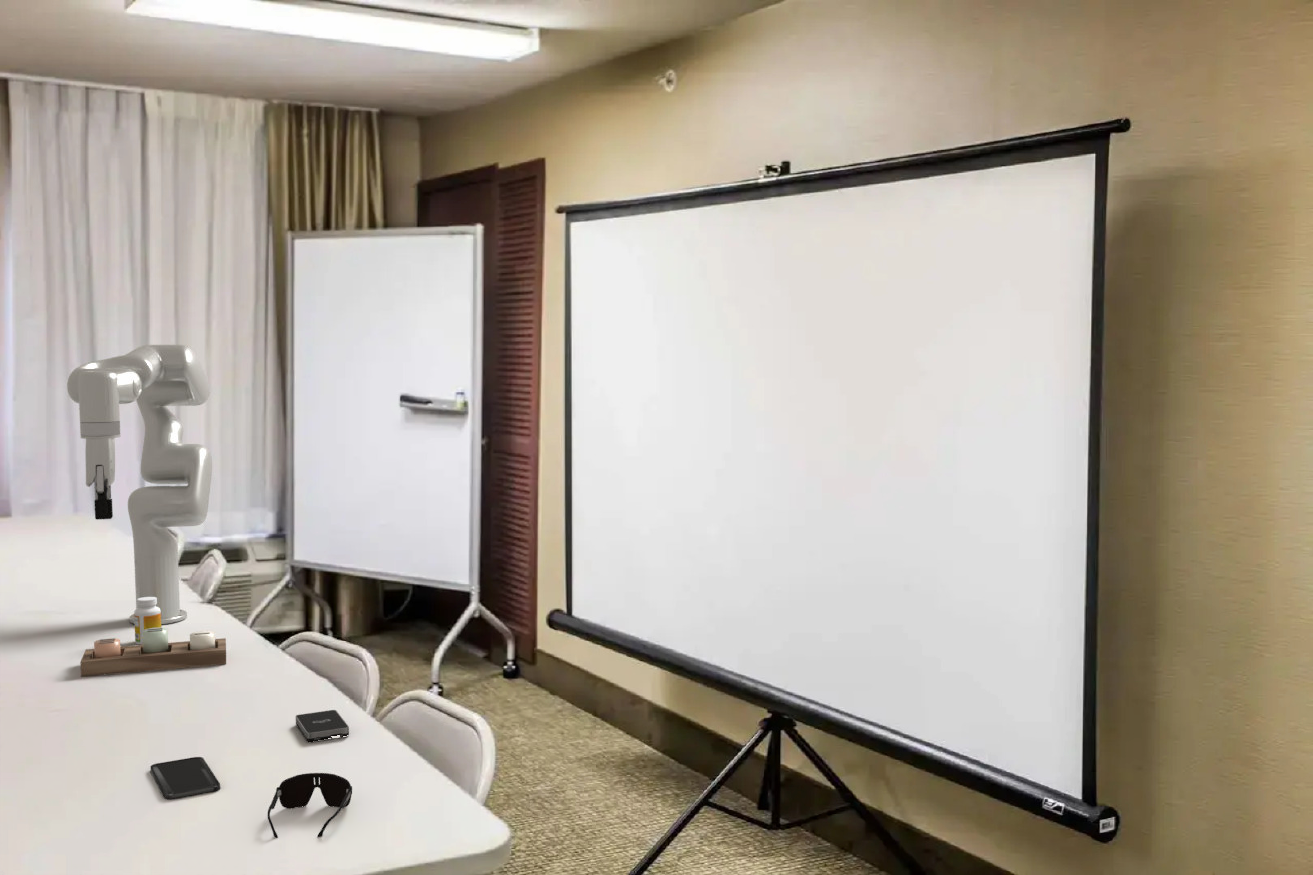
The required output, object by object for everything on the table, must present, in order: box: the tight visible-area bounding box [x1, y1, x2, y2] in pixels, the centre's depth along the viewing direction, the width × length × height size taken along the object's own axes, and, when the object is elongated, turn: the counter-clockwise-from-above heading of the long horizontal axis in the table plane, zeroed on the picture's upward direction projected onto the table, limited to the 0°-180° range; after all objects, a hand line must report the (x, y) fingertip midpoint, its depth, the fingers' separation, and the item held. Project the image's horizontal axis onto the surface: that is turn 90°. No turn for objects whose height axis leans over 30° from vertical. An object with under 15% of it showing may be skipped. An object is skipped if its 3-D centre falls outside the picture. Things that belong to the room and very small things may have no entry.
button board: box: [79, 637, 227, 677], centre depth 251 cm, size 10×27×3 cm, turn 109°
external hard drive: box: [295, 709, 350, 743], centre depth 209 cm, size 7×11×2 cm, turn 27°
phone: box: [150, 756, 221, 801], centre depth 186 cm, size 8×1×15 cm
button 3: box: [93, 638, 121, 658], centre depth 248 cm, size 5×5×4 cm
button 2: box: [142, 627, 169, 653], centre depth 251 cm, size 5×5×4 cm
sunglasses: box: [267, 772, 353, 839], centre depth 170 cm, size 10×12×5 cm
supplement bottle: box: [133, 597, 162, 645], centre depth 269 cm, size 5×5×10 cm
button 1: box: [189, 630, 216, 650], centre depth 254 cm, size 5×5×4 cm
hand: (104, 518), depth 255 cm, fingers closed
